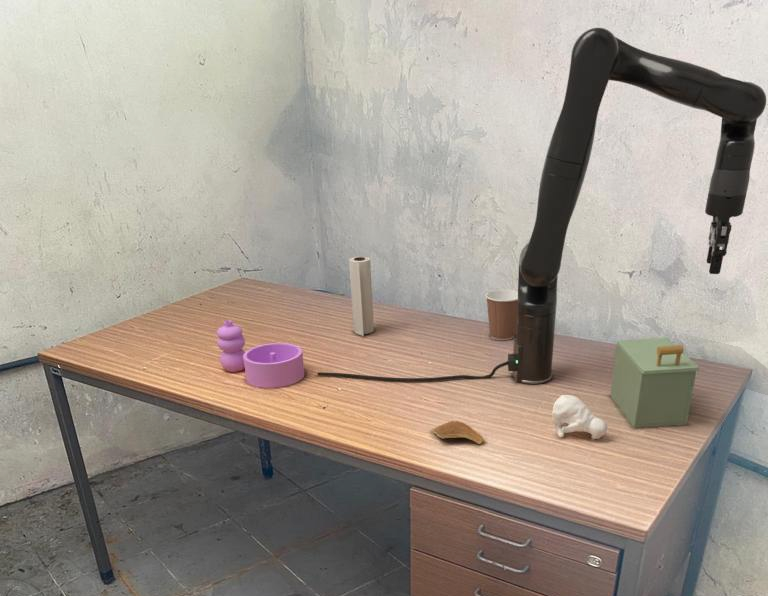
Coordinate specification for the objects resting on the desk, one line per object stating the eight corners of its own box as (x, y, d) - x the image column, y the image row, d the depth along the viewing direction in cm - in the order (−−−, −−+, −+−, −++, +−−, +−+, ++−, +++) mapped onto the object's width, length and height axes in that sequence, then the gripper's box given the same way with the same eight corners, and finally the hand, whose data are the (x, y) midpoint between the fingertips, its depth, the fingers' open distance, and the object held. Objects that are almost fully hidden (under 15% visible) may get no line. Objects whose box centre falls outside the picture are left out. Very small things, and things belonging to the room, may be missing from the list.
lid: (698, 370, 159) (702, 348, 157) (643, 374, 159) (646, 351, 157) (666, 340, 175) (669, 319, 172) (616, 343, 175) (619, 322, 172)
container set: (315, 370, 204) (310, 322, 197) (281, 391, 193) (275, 341, 186) (242, 357, 215) (235, 311, 208) (206, 376, 204) (197, 328, 197)
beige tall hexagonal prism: (362, 326, 232) (357, 254, 220) (378, 329, 229) (374, 257, 217) (347, 333, 227) (342, 260, 215) (363, 337, 224) (359, 263, 212)
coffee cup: (526, 333, 220) (528, 291, 214) (511, 344, 213) (513, 302, 207) (494, 328, 225) (495, 287, 219) (478, 339, 218) (479, 297, 212)
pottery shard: (485, 444, 164) (486, 434, 162) (445, 452, 162) (445, 441, 160) (467, 424, 172) (467, 414, 171) (428, 431, 170) (428, 421, 169)
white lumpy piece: (561, 387, 165) (616, 402, 160) (555, 422, 170) (607, 437, 165) (551, 398, 161) (607, 414, 156) (545, 434, 166) (598, 450, 161)
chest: (686, 424, 167) (696, 369, 160) (634, 428, 167) (642, 373, 160) (658, 392, 182) (666, 340, 175) (610, 395, 182) (616, 343, 175)
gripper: (706, 184, 168) (693, 259, 177) (711, 197, 157) (696, 276, 165) (743, 184, 166) (728, 260, 175) (750, 197, 155) (733, 278, 163)
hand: (712, 268), depth 170 cm, fingers open, 8 cm apart
